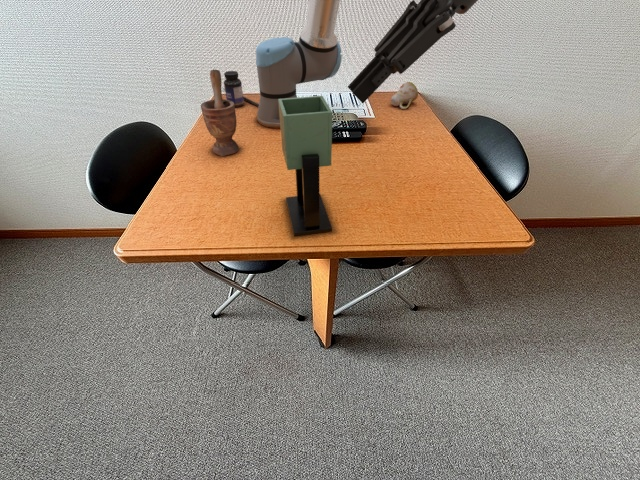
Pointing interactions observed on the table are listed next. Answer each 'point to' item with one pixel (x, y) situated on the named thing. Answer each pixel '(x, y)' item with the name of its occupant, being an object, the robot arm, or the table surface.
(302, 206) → the stand
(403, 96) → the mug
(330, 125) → the green square planter
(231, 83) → the pill bottle
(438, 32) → the robot arm
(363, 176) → the table surface
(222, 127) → the mortar and pestle
